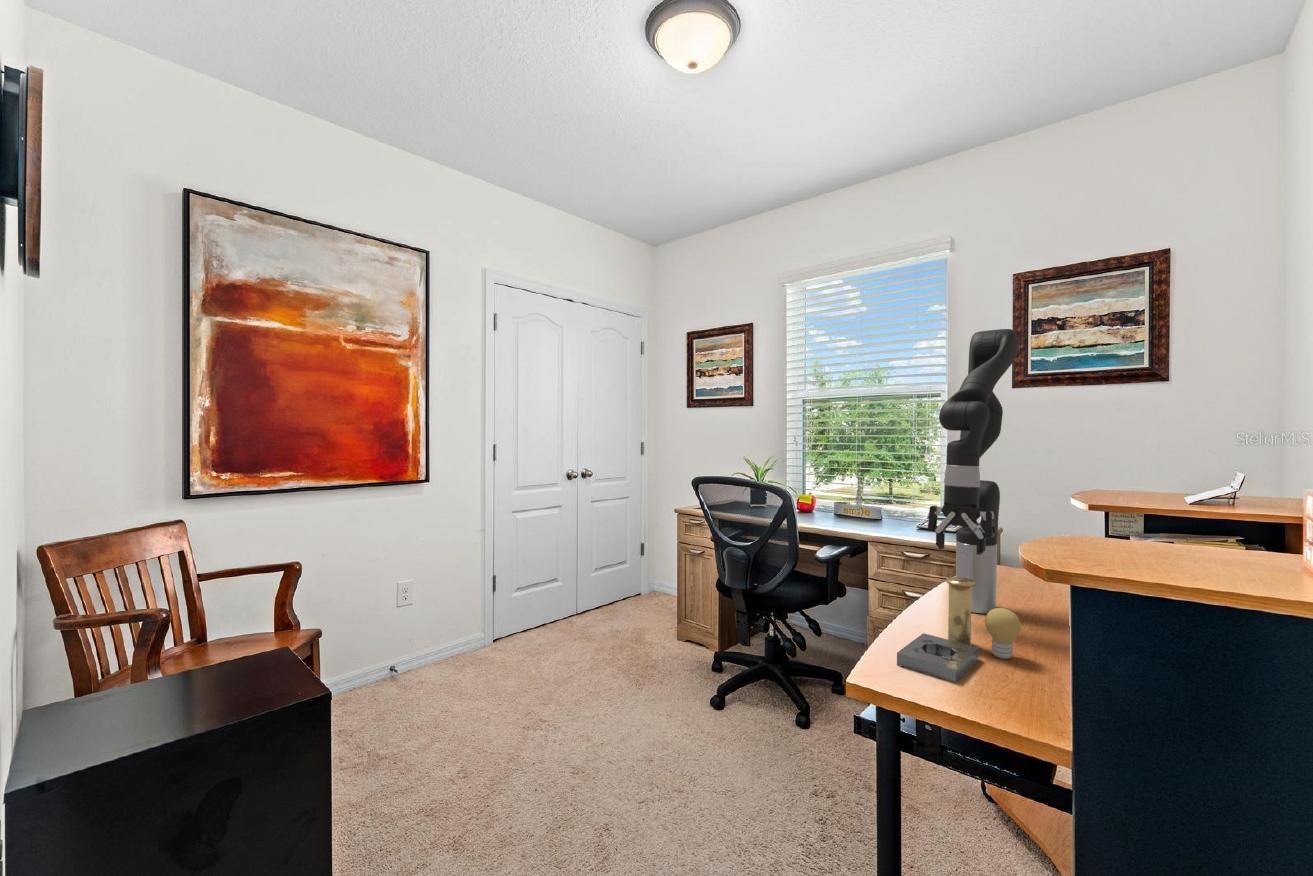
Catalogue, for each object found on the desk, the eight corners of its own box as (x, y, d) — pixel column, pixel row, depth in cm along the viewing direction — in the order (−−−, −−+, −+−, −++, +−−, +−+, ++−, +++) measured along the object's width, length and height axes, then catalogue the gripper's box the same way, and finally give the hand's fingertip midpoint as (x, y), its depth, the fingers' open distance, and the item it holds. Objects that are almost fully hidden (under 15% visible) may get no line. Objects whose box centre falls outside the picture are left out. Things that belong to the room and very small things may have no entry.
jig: (923, 644, 124) (923, 633, 124) (978, 659, 116) (978, 647, 116) (896, 664, 114) (896, 652, 114) (955, 682, 106) (955, 670, 106)
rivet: (950, 636, 128) (950, 575, 128) (977, 643, 124) (978, 580, 124) (941, 643, 124) (942, 580, 124) (969, 651, 120) (970, 586, 120)
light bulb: (1020, 665, 113) (1021, 616, 113) (983, 658, 117) (984, 611, 116) (1020, 654, 119) (1020, 607, 118) (984, 647, 122) (985, 602, 122)
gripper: (999, 486, 134) (997, 554, 134) (936, 481, 144) (934, 545, 144) (990, 487, 129) (988, 558, 129) (925, 482, 139) (923, 548, 139)
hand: (959, 551), depth 136 cm, fingers open, 8 cm apart
